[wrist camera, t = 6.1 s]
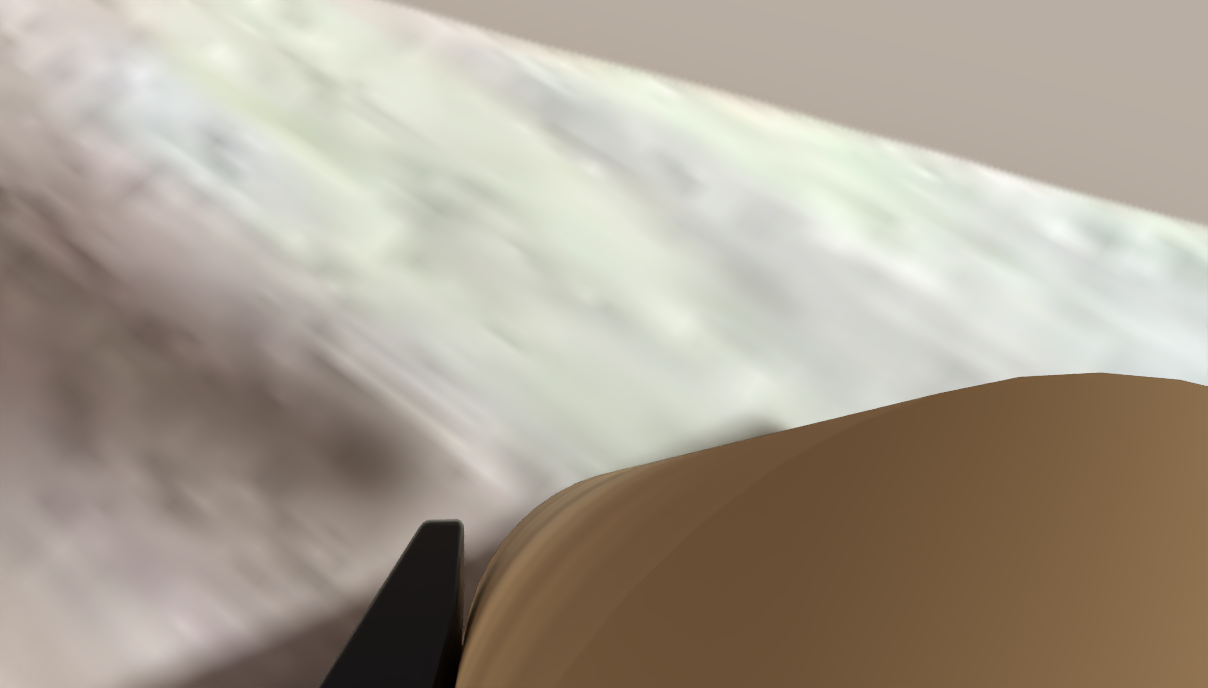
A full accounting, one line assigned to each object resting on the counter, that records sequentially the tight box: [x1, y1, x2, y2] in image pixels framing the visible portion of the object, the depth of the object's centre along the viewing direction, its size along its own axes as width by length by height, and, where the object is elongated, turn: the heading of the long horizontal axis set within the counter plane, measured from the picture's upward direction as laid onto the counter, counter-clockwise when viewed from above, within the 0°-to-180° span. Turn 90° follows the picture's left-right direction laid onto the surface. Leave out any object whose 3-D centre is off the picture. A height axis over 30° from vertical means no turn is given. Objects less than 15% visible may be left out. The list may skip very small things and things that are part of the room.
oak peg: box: [455, 373, 1208, 688], centre depth 9 cm, size 4×4×14 cm
